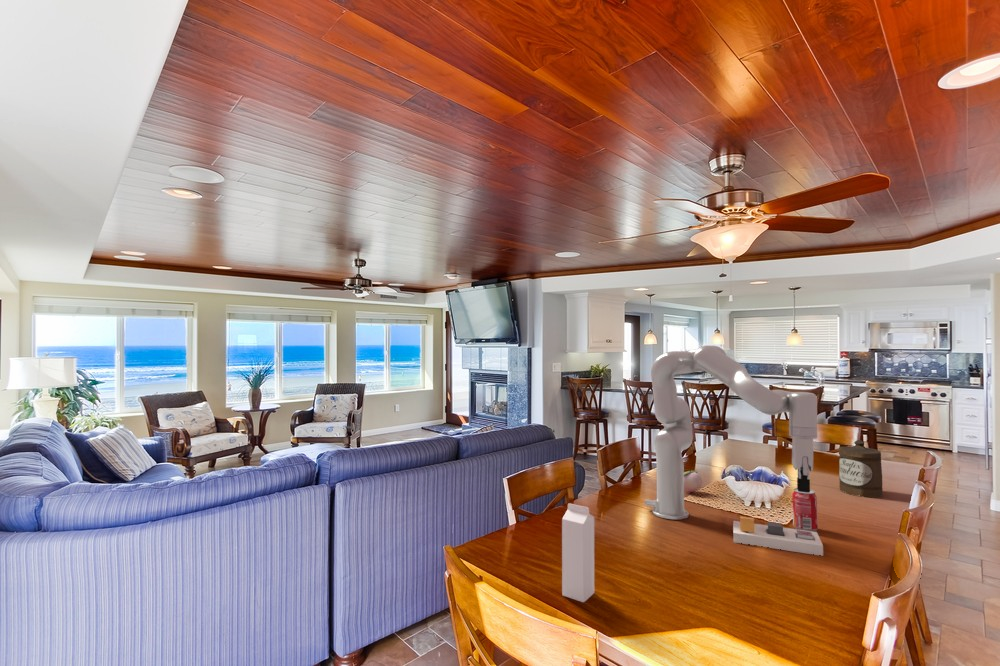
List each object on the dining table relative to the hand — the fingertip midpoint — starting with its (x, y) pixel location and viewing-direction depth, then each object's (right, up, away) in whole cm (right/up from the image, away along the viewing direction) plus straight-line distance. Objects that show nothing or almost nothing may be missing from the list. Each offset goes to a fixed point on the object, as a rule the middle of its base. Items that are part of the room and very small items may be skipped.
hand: (803, 491), depth 154 cm
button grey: (0, -16, -1) cm, 16 cm away
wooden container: (+59, -19, +57) cm, 84 cm away
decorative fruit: (-13, -19, +55) cm, 60 cm away
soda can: (+9, -18, +14) cm, 24 cm away
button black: (-7, -15, +3) cm, 17 cm away
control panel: (-7, -17, +3) cm, 19 cm away
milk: (-75, -16, -31) cm, 82 cm away
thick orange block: (-16, -17, +3) cm, 23 cm away
